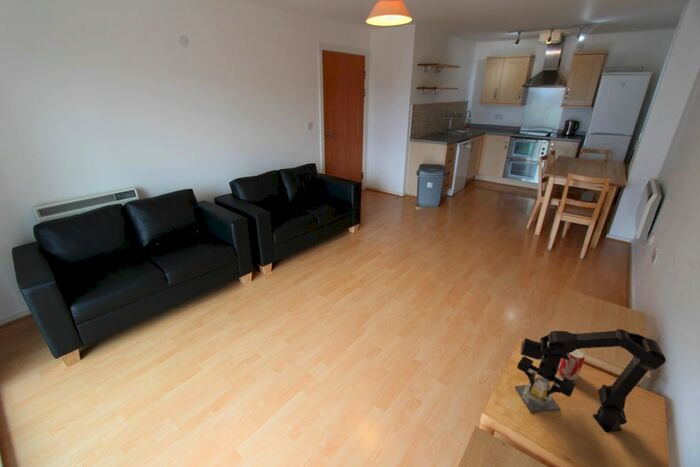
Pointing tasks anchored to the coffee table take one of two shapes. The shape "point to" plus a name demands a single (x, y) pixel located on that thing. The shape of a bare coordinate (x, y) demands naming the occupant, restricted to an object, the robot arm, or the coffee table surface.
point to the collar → (536, 400)
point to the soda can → (572, 365)
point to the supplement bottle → (540, 387)
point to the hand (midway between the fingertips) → (539, 390)
